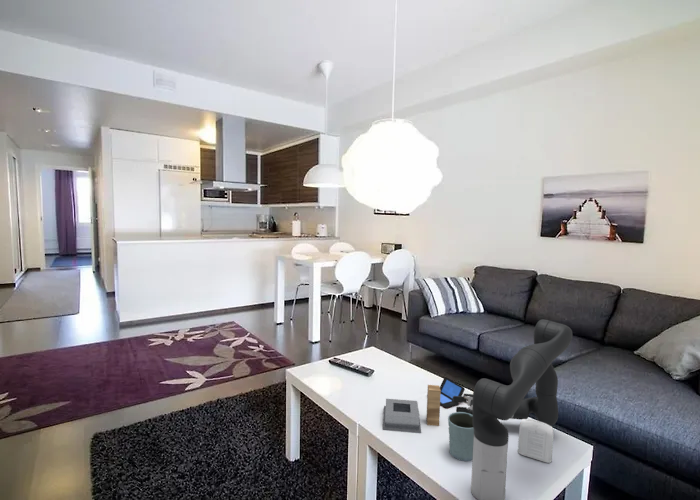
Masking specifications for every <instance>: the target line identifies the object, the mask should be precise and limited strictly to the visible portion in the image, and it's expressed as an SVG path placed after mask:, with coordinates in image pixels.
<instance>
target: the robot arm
mask: <svg viewBox="0 0 700 500" xmlns="http://www.w3.org/2000/svg"><path fill="white" fill-rule="evenodd" d="M572 340H573V330H572V329H571V328H570V327H569V326H568V325H566V324H564V323H561V322H560V323H559V322H557V321H553V320H550V319H549V320H548V319H543V318H542V319H540V320H538V321H537V323H536V324H535V327H534V331H533V344H530V345H526V346H524V347H523V348H520V349H519V350H518V351H517V352H516V354H515V355H513V357H512V358H511V360H510V363H509V372H510V376H511V379H512V382H511V384H509V385H506V384H503V383H500V382H497V381H495V380H492V379H489V378H482V377H481V378H480V379H479V380H477V382H475V383H476V384H475V386H474V389H473V392H472V393H463V395H462V396H453V402H459V403H461V404H463V403H464V404H466V405H467V406H468V407H464V406H455V407H456V408H455V412H465V413H469V414H471V415H473V428H474V439H473V457H472V460H471V461H472V462H471V478H470V479H471V481H470V491H471V492H470V493H471V494H472V495H473V497H474V498H475V499H476V500H505V499H506V481H507V464H508V450H509V437H510V436H509V435H510V434H509V430H508V428H507V427H506V425H504V424H503V423H502V422H501V421H504V422H505V421H508V420H510V419H511V420H521V421H522V419H529V416H530V414H534V415H535V417H536V420H537V421H540V422H543V423H545V424H548V425H549V426H551V427H553V425H555V424H557V421H558V418H559V405H558V400H557V399H558V398H557V396H558V387H559V386H558V384H559V380H558V379H559V377H558V375H557V374H558V373H557V372H556V370H555V368H554V366H553V364H552V363H553V362H554V361H555V360H556V359H557V358H559V356H560V355H562V354H564V352H565V351H566V350H567V349H568V348H569V346H570V344H571V342H572ZM534 385H535V395H536V396H534V397H529V398H525V397H527V395H528V393H529V391H530V390H531V389H532V387H533V386H534ZM500 420H501V421H500Z"/></svg>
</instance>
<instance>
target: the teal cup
mask: <svg viewBox="0 0 700 500" xmlns="http://www.w3.org/2000/svg"><path fill="white" fill-rule="evenodd" d="M447 417H448V418H447V423H448V436H449V437H448V441H449V442H448V443H449V444H448V445H449V448H448V449H449V454H450V455H451V456H452V457H453V458H455V459H457V460H459V461H462V462H471V461H472V457H473V439H474V428H473V415H471V414H469V413H465V412H456V411H455V412H451V413H450V414H449V415H448V416H447Z"/></svg>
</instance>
